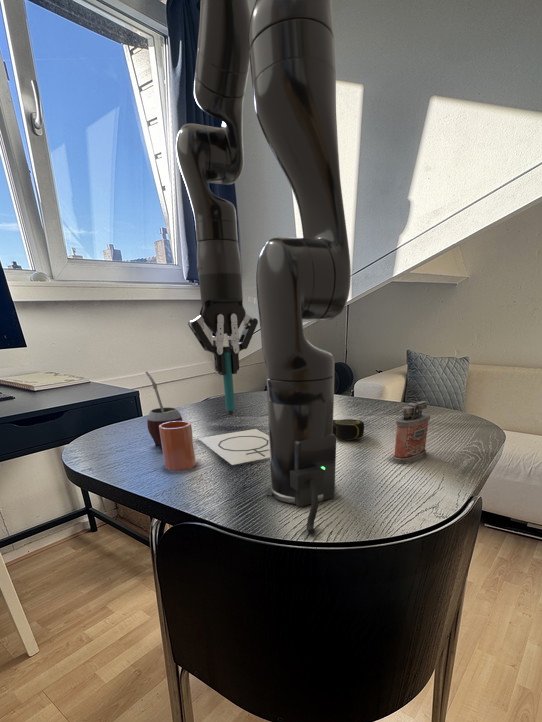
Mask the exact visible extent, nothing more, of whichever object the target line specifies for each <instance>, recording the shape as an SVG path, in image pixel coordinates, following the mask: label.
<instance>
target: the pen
mask: <svg viewBox="0 0 542 722" xmlns="http://www.w3.org/2000/svg"><path fill="white" fill-rule="evenodd" d="M222 355H224V360H225V372H226V374H225V375H222V379H223V390H224V399H225V400H224V402H225V411H227V414H228V416H233V415H234V411H235V410H236V404H235V391H234V380H233V379H234V376H233V374H232V363H231V347H230V346H228V345H223V353H222Z"/></svg>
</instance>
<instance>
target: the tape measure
mask: <svg viewBox="0 0 542 722" xmlns="http://www.w3.org/2000/svg"><path fill="white" fill-rule="evenodd" d="M364 433H365V423H364V422H363V421H362V420H359V419H350V418H346V419H345V418H344V419H333V435H335V436H336V439H339V440H345V441H354V440H356V439H360V438H362V437H363V436H364Z"/></svg>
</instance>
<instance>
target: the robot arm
mask: <svg viewBox="0 0 542 722" xmlns="http://www.w3.org/2000/svg"><path fill="white" fill-rule="evenodd" d="M332 3H333V2H332V0H255V1H254V4H253V7H252V11H251V6H250V2H249V0H200V10H199V24H198V25H199V26H198V37H197V49H196V59H195V71H194V81H193V82H194V83H193V96H194V99H195V102H196V104H197V106H198V107H199V108H200V109H201V110H202V111H203V112H204V113H206V114H207V115H209V116H211V117H213V118H215V119H217V120H219V121H221V122H222V123H221V127H218V126H211V125H206V124H199V123H192V122H191V123H185V124H183V125H182V126H181V128H180V129H179V131H178V133H177V136H176V142H175V152H176V158H177V163H178V166H179V170H180V173H181V175H182V179H183V181H184V184H185V187H186V191H187V194H188V197H189V200H190V205H191V208H192V212H193V217H194V227H195V238H196V262H197V263H196V270H197V273H198V284H199V294H200V302H201V307H200V310H199V315H198V316H197V317H196V318H194V319H193V320H189V321H188V322H187V326H188V327H189V329H190V330H191V332H192V334H193V335H194V336H195V338H196V340H197V341H198V343H199V344H200V346H201V347H202V350H204V351H206V352H209V353H212V354H213V360H214V361H213V362H214V369H215V372H217V373H218V375H219V376H223V375H225V374H226V372H225V360H224V355H222V353H223V346H224V340H225V338H226V341H227V346H230V347H231V363H232V375H238V371H240V357H239V356H240V355H239V354H240V352H241V351H243V350H247V349H248V347H249V345H250V342H251V340H252V339H253V335H254V333H255V331H256V329H257V326H258V324H259V328H260V329H259V330H260V342H261V352H262V356H263V360H264V365H265V374H266V375H265V376H266V398H267V421H268V422H267V424H268V436H269V447H270V458H269V466H270V469H269V470H270V493H271V496H272V497H273V498H274V499H276V500H278V501H280V502H282V503H283V502H284V503H288V504H294V505H296V506H297V507H304V506H308V505H310V510H309V514H308V518H307V522H306V530H307V533H308V534H309V535H310V536H313V535H315V533H316V531H315V528H314V525H315V520H316V518H317V517H316V516H317V513H318V509H319V502H323V501H326V500H330V499H334V498H335V497H336V463H337V438H336V436H335V435H333V420H334V408H335V405H334V404H335V372H336V371H335V365H336V364H335V363H336V362H335V357H334V355H333V353H331V352H329V350H326V349H322V348H319V347H317V346H315V345H313V344H312V343H311V342H310V341H309V340H308V338H307V337H306V336H305V332H304V325H303V322H305V323H306V322H307V323H308V322H322V321H331V320H334V319H336V318H338V316H340V315H341V314H342V313H343V311H344V309H345V308H346V306H347V303H348V299H349V296H350V291H351V281H352V280H351V279H352V276H351V275H352V270H351V269H352V268H351V254H350V246H349V238H348V231H347V222H346V215H345V205H344V199H343V191H342V182H341V181H342V180H341V169H340V153H339V140H338V139H339V137H338V136H339V135H338V121H337V80H336V79H337V77H336V74H337V73H336V53H335V51H336V50H335V33H334V19H333V8H332V7H333V6H332V5H333V4H332ZM249 71H250V74H251V75H250V77H251V87H252V96H253V105H254V106H253V107H254V111H255V115H256V118H257V121H258V123H259V127H260V128H261V131H262V133H263V136H264V138H265V140H266V142H267V145H268V146H269V148H270V150H271V152H272V153H273V155H274V157H275V160H276V161H277V163H278V165H279V166H280V168H281V171H282V172H283V175H284V176H285V178H286V180H287V182H288V184H289V186H290V188H291V190H292V193H293V195H294V198H295V200H296V205H297V208H298V213H299V217H300V223H301V224H300V225H301V230H302V231H301V232H302V237H289V236H278V237H273V238H270V239H268V240H267V241H266V242H265V243H264V244H263V246H262V248H261V251H260V252H259V255H258V259H257V265H256V274H255V275H256V277H255V278H256V280H255V281H256V283H255V286H256V300H257V308H258V319H259V321H258V319H257V318H255V317H252V316H250V315H248V314H247V312H246V310H245V308H244V304H243V301H244V297H243V280H242V265H241V256H240V255H241V254H240V248H239V240H238V239H239V237H238V224H237V211H236V207H235V205H234V204H233V203H232V202H231V201H229V200H227V199H224V198H221V197H219V196H217V195H215V194H214V193H213V192H212V191H211V189H210V187H209V185H208V184H215V185H226V186H227V185H228V186H229V185H233V184H235V183H236V182H237V181H238V180H239V179H240V177H241V175H242V173H243V170H244V164H245V151H244V136H243V134H244V133H243V128H244V127H243V126H244V124H243V119H244V118H243V115H244V114H243V113H244V112H243V111H244V100H245V96H246V95H245V94H246V88H247V83H248V77H249ZM204 324H205V325H204ZM241 325H242V326H243V329H242V332H241V334H240V336H239V329H240V327H241ZM205 326H206V327H207V328H208V329H209V331H210V332H211V333H210V338H211V341H210V339H209V338H208V336H207V334H206V333H205V331H204V329H205Z"/></svg>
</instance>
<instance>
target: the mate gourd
mask: <svg viewBox="0 0 542 722" xmlns="http://www.w3.org/2000/svg"><path fill="white" fill-rule="evenodd" d="M145 374H146V376H147V377H148V379H149V380H150V382H151V383H152V384H151V386H152V388H153V390H154V393H155V395H156V400H157V402H158V405H159V407H158V408H157V407H156V408H154V409H152V410H150V411H149V412H148V415H147V418H146V419H147V430H148V433H149V435H150V437H151V439H152V440H153V443H154V447H155V448H162V444H161V437H160V431H159V425H160V424H163V423H166V422H171V421H184V420H183V417H182V414H181V413H180V411H179V410H178V408H176V407H164V405H163V404H162V400H161V395H159V391H158V385H157V383H156V382H155V380H154V379H153V377H152V376H151V374H150V373H149V372H148V371H145ZM160 451H161V452H163V450H162V449H161V450H160Z"/></svg>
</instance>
